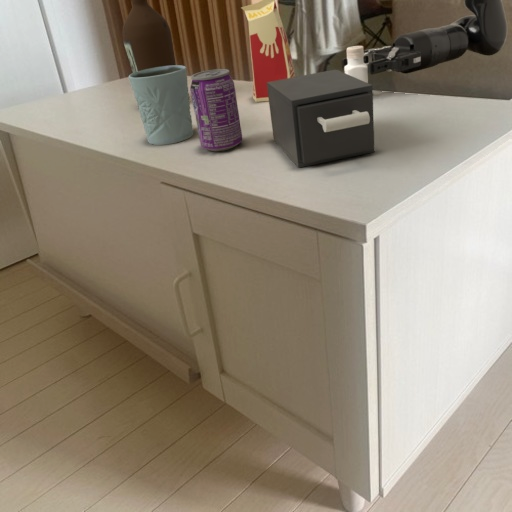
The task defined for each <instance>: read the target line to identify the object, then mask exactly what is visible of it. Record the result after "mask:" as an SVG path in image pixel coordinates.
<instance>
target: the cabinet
mask: <svg viewBox="0 0 512 512" xmlns="http://www.w3.org/2000/svg"><path fill="white" fill-rule="evenodd" d="M267 89H268V98H269V101H268V106H269V113H270V121H271V130H272V138H273V142H274V143H275V144H276V145H277V146H278V147H279V148H280V149H281V151H282V152H283V153H284V154H285V155H286V156H287V157H288V159H290V160H291V161H292V163H293V164H294V165H295V166H296V167H297V168H298V169H300V168H304V167H310V166H315V165H319V164H323V163H324V164H325V163H327V162H328V163H329V162H335V161H338V160H344V159H348V158H352V157H358V156H362V155H367V154H371V153H375V148H374V149H372V150H367V151H363V152H358V153H353V154H348V155H343V156H339V157H334V158H329V159H324V160H319V161H315V162H310V163H303V162H302V156H301V146H300V136H299V126H298V116H297V107H298V105H303V104H308V103H313V102H318V101H323V100H329V99H334V98H339V97H344V96H349V95H354V94H359V93H360V94H365V93H370V94H372V112H373V113H374V89H373V84H371V83H369V82H368V83H366V82H364V81H361V80H359V79H357V78H355V77H352V76H350V75H348V74H346V73H345V72H344V71H341V70H339V69H330V70H326V71H320V72H314V73H309V74H303V75H298V76H295V77H293V78H287V79H282V80H276V81H271V82H267ZM373 144H374V145H375V126H374V119H373Z"/></svg>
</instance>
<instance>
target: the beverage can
mask: <svg viewBox="0 0 512 512" xmlns="http://www.w3.org/2000/svg"><path fill="white" fill-rule="evenodd" d="M190 79H191V84H190V87H189V88H190V96H191V101H192V107H193V111H194V117H195V121H196V128H197V133H198V138H199V143H200V147H201V148H203V149H205V150H208V151H210V152H224V151H227V150H228V151H229V150H231V149H234V148H235V147H237V146H238V145H239V144H240V143H242V141H243V132H242V126H241V119H240V113H239V107H238V100H237V99H238V98H237V94H236V93H237V92H236V87H235V86H236V85H235V81H234V80H233V78H232V76H231V75H230V69H227V68H216V69H209V70H203V71H199V72H196V73H194V74H192V75H190Z"/></svg>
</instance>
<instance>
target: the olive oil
mask: <svg viewBox="0 0 512 512" xmlns="http://www.w3.org/2000/svg"><path fill="white" fill-rule="evenodd" d="M130 1H131V6H132V7H131V9H130V11H129V13H128V15H127V17H126V19H125V21H124V23H123V26H122V32H121V33H122V35H121V36H122V41H123V42H122V43H123V45H124V49H125V52H126V56H127V58H128V62H129V65H130V69H131V74H132V73H134V72H138V71H141V70H145V69H150V68H155V67H162V66H172V65H177V62H176V56H175V51H174V43H173V37H172V30H171V27H170V25H169V24H168V21H167V20H166V18H165V17H164V16H163V15H162V14H160V13H159V11H156V9H154V8H153V7H152V6H150V5H151V4H149V2H148V0H130Z"/></svg>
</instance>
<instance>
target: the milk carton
mask: <svg viewBox="0 0 512 512" xmlns="http://www.w3.org/2000/svg"><path fill="white" fill-rule="evenodd" d="M240 9H241V10H243V11H244V14H245V16H246V19H247V24H248V37H249V47H250V48H249V49H250V50H249V51H250V60H251V70H252V92H253V93H252V94H253V95H252V98H253V100H254V101H255V103H258V102H259V103H261V102H269V98H268V89H267V82H271V81H276V80H282V79H287V78H293V77H296V74H295V66H294V61H293V56H292V53H291V49H290V45H289V40H288V36H287V34H286V30H285V27H284V24H283V22H282V21H283V20H282V18H281V15H280V13H279V10H278V7H277V3H276V0H260V1H258V2H255V3H252V4H248V5H245V6H242V7H240Z"/></svg>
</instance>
